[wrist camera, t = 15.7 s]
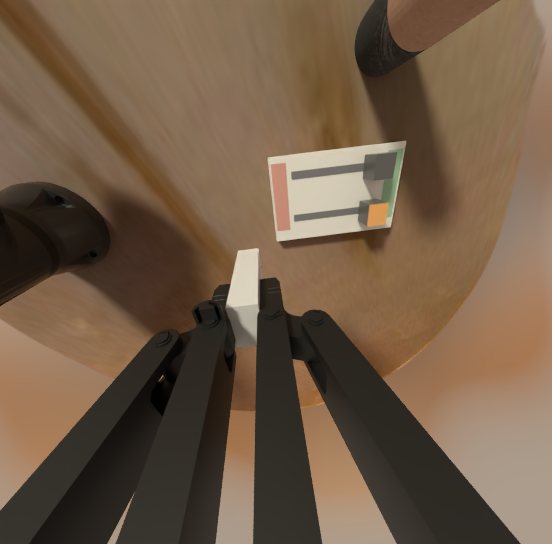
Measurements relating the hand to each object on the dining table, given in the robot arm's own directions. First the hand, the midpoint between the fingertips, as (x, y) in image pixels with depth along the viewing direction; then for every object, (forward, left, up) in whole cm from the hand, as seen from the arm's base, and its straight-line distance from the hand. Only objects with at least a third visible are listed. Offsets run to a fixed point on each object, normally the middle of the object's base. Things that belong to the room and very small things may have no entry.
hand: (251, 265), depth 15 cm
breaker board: (+14, 0, -24) cm, 28 cm away
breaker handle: (+20, -3, -22) cm, 30 cm away
